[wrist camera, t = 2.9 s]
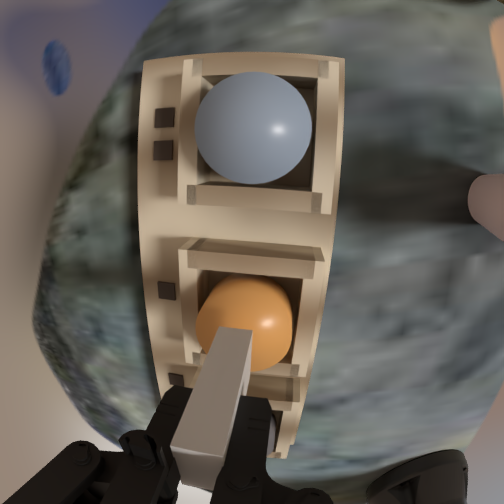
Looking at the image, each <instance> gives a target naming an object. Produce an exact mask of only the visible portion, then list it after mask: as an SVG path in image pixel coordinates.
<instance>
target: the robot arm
mask: <svg viewBox="0 0 504 504" xmlns="http://www.w3.org/2000/svg"><path fill="white" fill-rule="evenodd" d="M252 335H253V330H246V329H237V328H229V327H221V326H219V328H218V330H217V332H216V335H215V337H214V340H213V342H212V345H211V347H210V349H209V352H208V354H207V357H206V359H205V361H204V364H203V366H202V369H201V371H200V374H199V376H198V378H197V381H196V383H195V386H194V388H188V387H183V386H178V385H174V386H172V387H171V388H170V389H169V390H167V391H166V392H165V393H164V395H163V397H162V399H161V401H160V405H158V407H157V409H156V412H155V413H154V415H153V417H152V419H151V421H150V423H149V425H148V427H147V429H146V430H132V431H129V432H127V433H125V434H123V435H122V436H121V437H120V438H119V440H118V441H119V443H120V445H121V447H122V449H123V452H111V451H100V450H98V448H97V447H96V446H95V445H94V444H92V443H90V442H88V441H81V440H80V441H76V442H73V443H71V444H70V445H68V446H67V447H66V448H65V449H64V450H62V451H61V452H60V453H59V454H58V455H57V456H56V457H55V458H54V459H52V460H51V461H50V462H49V463H48V464H47V465H46V466H45V467H44V468H42V469H41V470H40V471H39V472H38V473H37V474H36V475H35V476H33V477H32V478H31V479H30V480H29V481H28V482H27V483H25V484H24V485H23V486H22V487H21V488H20V489H19V490H18V491H16V492H15V493H14V494H13V495H12V496H11V497H10V498H8V499H7V500H6V501H5V502H4V503H3V504H176V501H177V498H178V491H177V487H178V484H179V481H180V479H181V482H182V484H184V485H189V486H193V487H198V488H202V489H208V490H213V493H212V497H211V501H210V504H333V501H332V500H331V498H330V496H329V495H328V494H326V493H325V492H324V491H322V490H319V489H315V488H304V489H301V490H298V491H297V490H294V489H291V488H288V487H285V486H282V485H280V484H278V483H276V482H275V481H273V480H272V479H271V478H270V476H269V475H268V473H267V471H266V457H267V449H268V440H269V431H270V423H271V414H272V408H271V405H270V403H269V401H268V398H261V397H252V396H246V393H247V388H248V384H249V379H250V369H251V352H252ZM467 485H468V464H467V461H466V459H465V456H464V454H463V453H462V452H461V451H457V450H448V451H442V452H437V453H433V454H430V455H427V456H424V457H421V458H418V459H416V460H413V461H411V462H408V463H406V464H404V465H402V466H399V467H397V468H395V469H394V470H392V471H390V472H388V473H386V474H385V475H383V476H382V477H380V478H379V479H377V480H376V481H375V482H374V483H372V484H371V485H370V487H369V488H368V490H367V493H366V494H367V504H467V501H466V500H467Z"/></svg>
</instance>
